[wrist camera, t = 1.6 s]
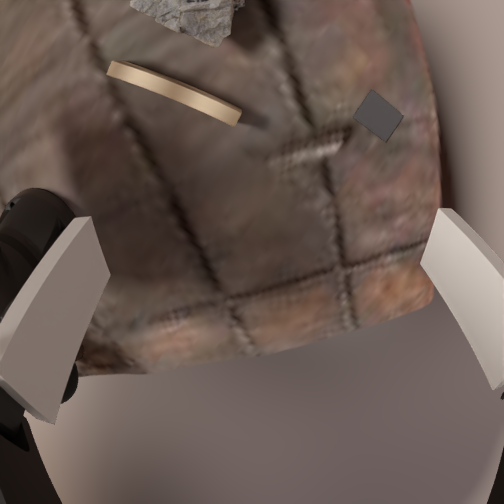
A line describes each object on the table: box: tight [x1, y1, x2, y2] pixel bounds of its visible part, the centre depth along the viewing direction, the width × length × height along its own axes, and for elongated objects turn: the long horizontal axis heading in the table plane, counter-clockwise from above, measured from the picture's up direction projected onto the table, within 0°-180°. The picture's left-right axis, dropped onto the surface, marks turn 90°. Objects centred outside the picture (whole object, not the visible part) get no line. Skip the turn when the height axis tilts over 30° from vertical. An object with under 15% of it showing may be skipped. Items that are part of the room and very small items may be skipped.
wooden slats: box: [107, 61, 242, 127], centre depth 20 cm, size 14×20×3 cm
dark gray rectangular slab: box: [353, 90, 403, 142], centre depth 27 cm, size 5×4×1 cm
